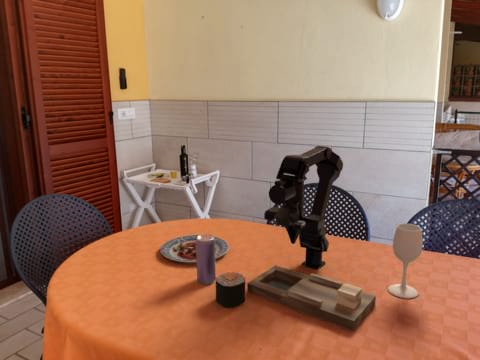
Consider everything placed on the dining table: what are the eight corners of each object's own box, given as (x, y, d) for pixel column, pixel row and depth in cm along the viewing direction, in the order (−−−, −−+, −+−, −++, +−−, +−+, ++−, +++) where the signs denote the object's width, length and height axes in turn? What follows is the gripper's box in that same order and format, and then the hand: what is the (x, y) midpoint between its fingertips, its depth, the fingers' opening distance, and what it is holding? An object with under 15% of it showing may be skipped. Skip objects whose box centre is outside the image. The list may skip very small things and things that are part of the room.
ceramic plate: (242, 248, 161) (241, 240, 161) (201, 273, 140) (201, 265, 139) (190, 235, 175) (189, 228, 174) (146, 257, 153) (145, 249, 153)
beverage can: (212, 286, 131) (212, 241, 128) (194, 284, 132) (193, 240, 129) (217, 277, 137) (216, 234, 133) (200, 275, 138) (199, 233, 134)
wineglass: (417, 287, 130) (424, 224, 125) (419, 301, 122) (426, 233, 117) (387, 283, 133) (393, 220, 128) (387, 296, 125) (393, 230, 120)
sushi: (211, 299, 123) (210, 274, 121) (233, 291, 128) (233, 267, 126) (227, 311, 117) (226, 285, 115) (250, 301, 122) (250, 276, 120)
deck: (275, 273, 140) (275, 260, 139) (375, 305, 120) (376, 291, 119) (247, 292, 127) (247, 278, 126) (353, 331, 107) (354, 315, 106)
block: (344, 296, 119) (345, 283, 118) (361, 301, 116) (362, 288, 115) (336, 303, 115) (337, 290, 114) (354, 309, 112) (355, 295, 111)
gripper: (254, 198, 127) (254, 245, 131) (310, 208, 116) (309, 259, 120) (273, 189, 136) (272, 234, 139) (326, 198, 125) (324, 246, 129)
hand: (293, 243), depth 132 cm, fingers closed
